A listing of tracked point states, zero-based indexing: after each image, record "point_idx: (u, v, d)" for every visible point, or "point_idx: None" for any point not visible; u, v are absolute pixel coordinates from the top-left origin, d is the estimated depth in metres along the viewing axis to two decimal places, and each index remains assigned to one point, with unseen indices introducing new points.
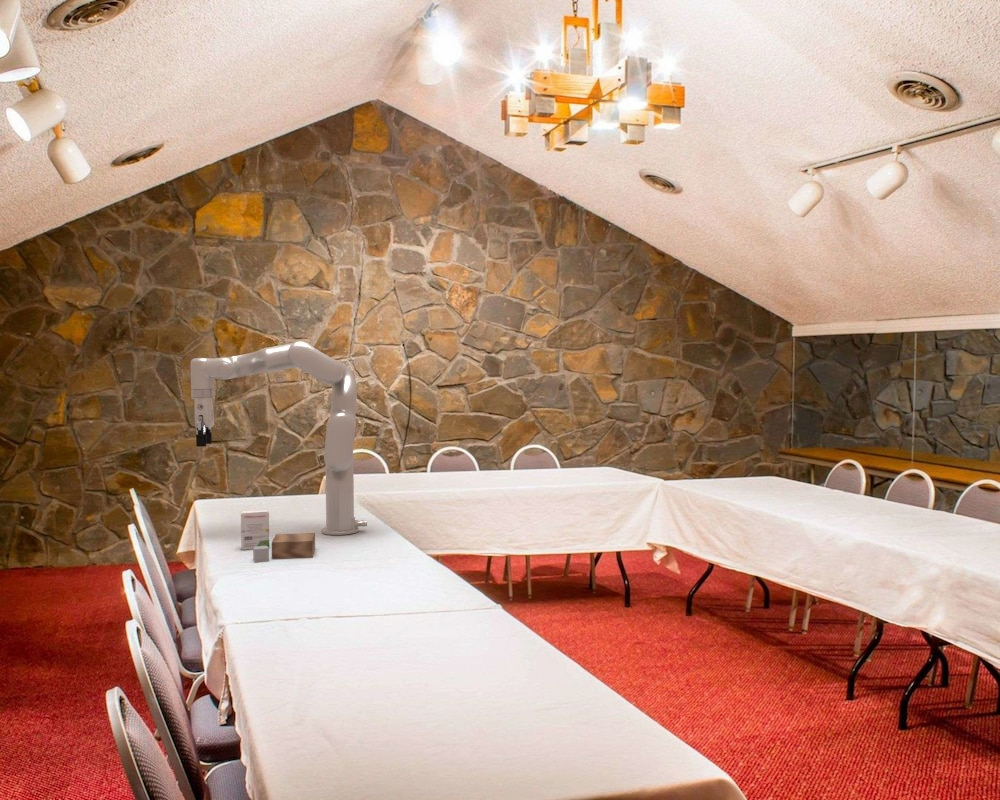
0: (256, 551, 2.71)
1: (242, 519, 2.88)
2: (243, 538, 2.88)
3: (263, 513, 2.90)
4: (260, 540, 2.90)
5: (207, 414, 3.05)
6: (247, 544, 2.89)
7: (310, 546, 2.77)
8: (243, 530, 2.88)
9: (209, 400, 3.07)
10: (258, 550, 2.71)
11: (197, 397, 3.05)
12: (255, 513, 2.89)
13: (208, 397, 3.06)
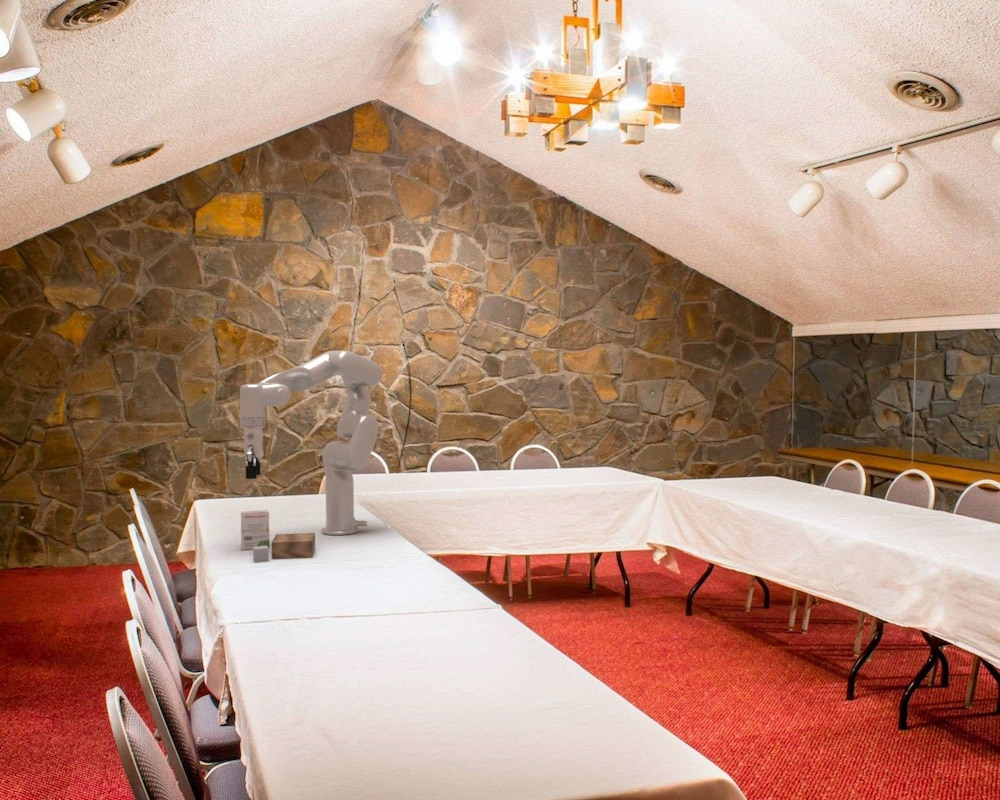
0: (256, 551, 2.71)
1: (242, 519, 2.88)
2: (243, 538, 2.88)
3: (263, 513, 2.90)
4: (260, 540, 2.90)
5: (257, 444, 2.86)
6: (247, 544, 2.89)
7: (310, 546, 2.77)
8: (243, 530, 2.88)
9: (259, 429, 2.88)
10: (258, 550, 2.71)
11: (247, 426, 2.86)
12: (255, 513, 2.89)
13: (258, 426, 2.87)
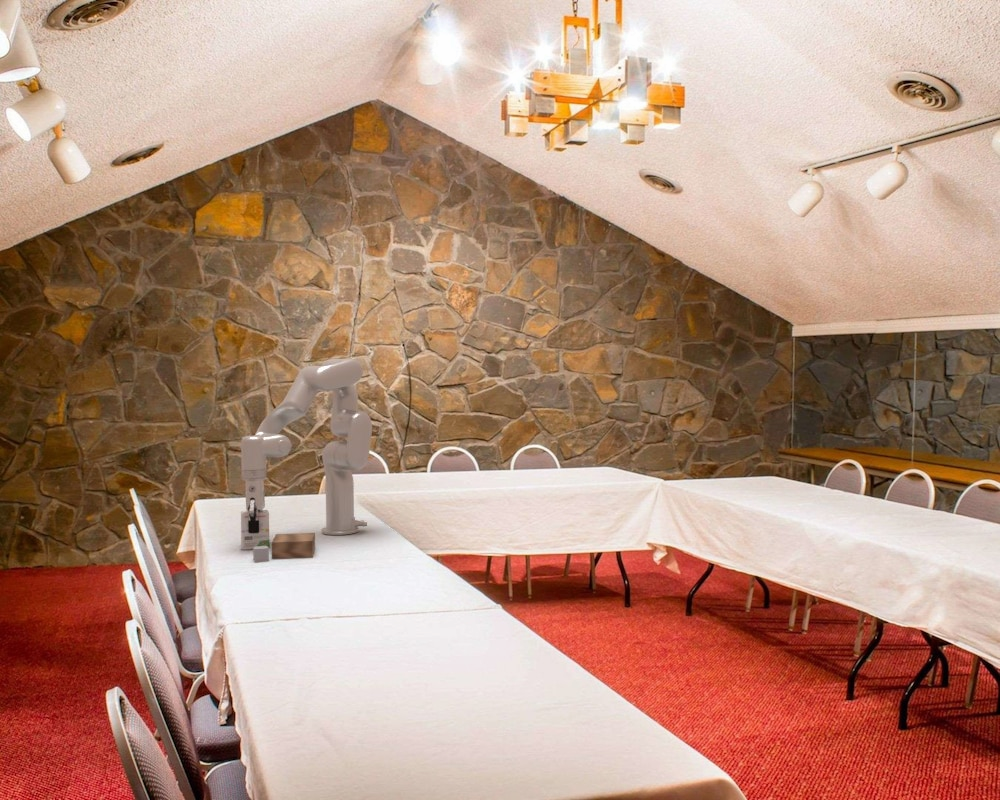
0: (256, 551, 2.71)
1: (242, 519, 2.88)
2: (243, 538, 2.88)
3: (263, 513, 2.90)
4: (260, 540, 2.90)
5: (259, 497, 2.87)
6: (247, 544, 2.89)
7: (310, 546, 2.77)
8: (243, 530, 2.88)
9: (261, 481, 2.89)
10: (258, 550, 2.71)
11: (248, 478, 2.87)
12: (255, 513, 2.89)
13: (260, 478, 2.88)
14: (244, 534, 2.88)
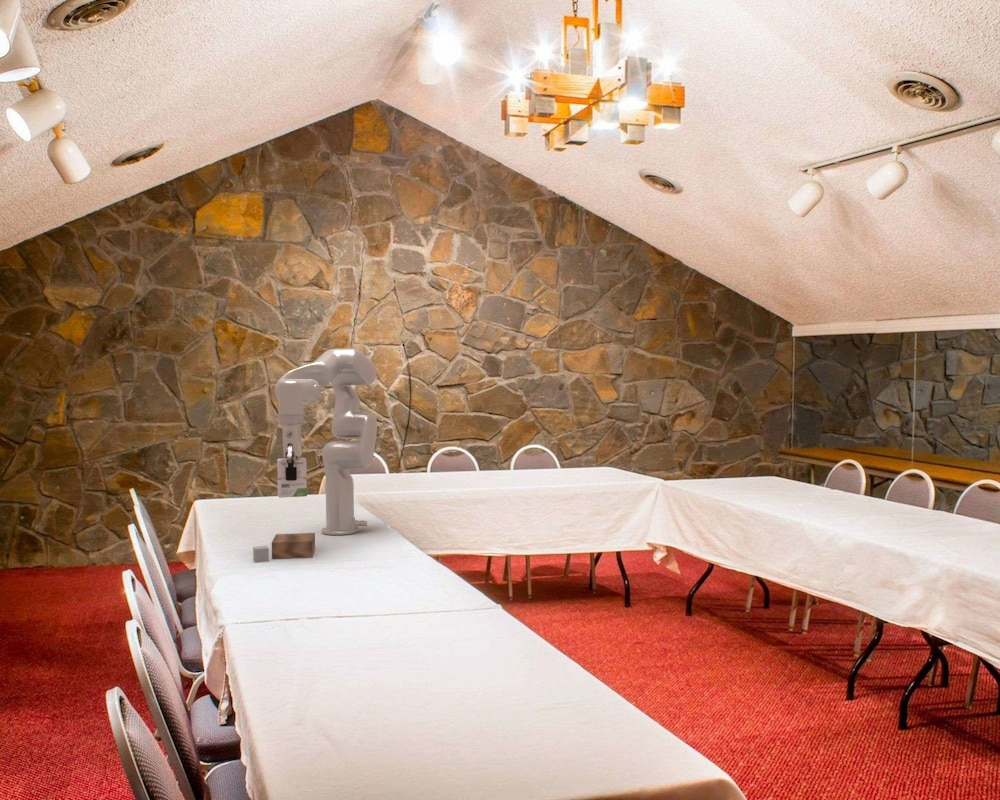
0: (256, 551, 2.71)
1: (278, 466, 2.78)
2: (280, 485, 2.79)
3: (300, 460, 2.80)
4: (297, 488, 2.80)
5: (297, 442, 2.77)
6: (284, 492, 2.79)
7: (310, 546, 2.77)
8: (280, 477, 2.78)
9: (298, 427, 2.79)
10: (258, 550, 2.71)
11: (286, 424, 2.77)
12: None
13: (297, 423, 2.78)
14: (281, 481, 2.79)
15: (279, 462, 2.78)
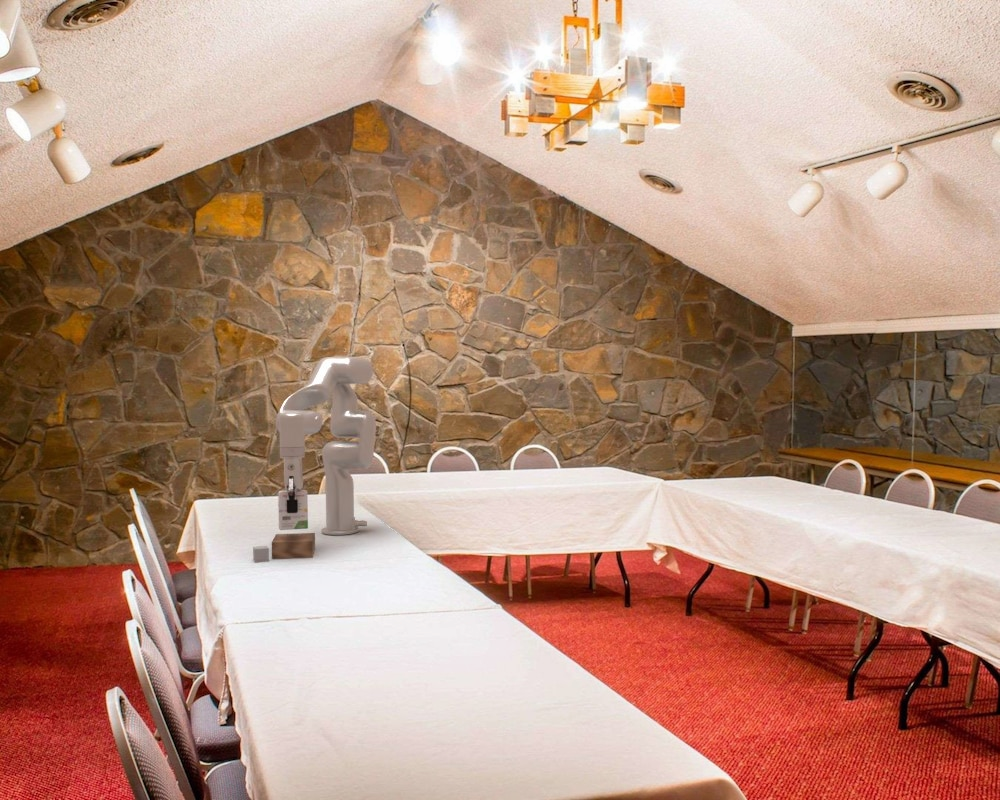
0: (256, 551, 2.71)
1: (280, 499, 2.78)
2: (281, 518, 2.79)
3: (302, 492, 2.80)
4: (298, 520, 2.80)
5: (298, 475, 2.77)
6: (285, 524, 2.79)
7: (310, 546, 2.77)
8: (281, 510, 2.79)
9: (300, 459, 2.79)
10: (258, 550, 2.71)
11: (287, 456, 2.78)
12: None
13: (299, 456, 2.79)
14: (282, 514, 2.79)
15: (280, 494, 2.78)
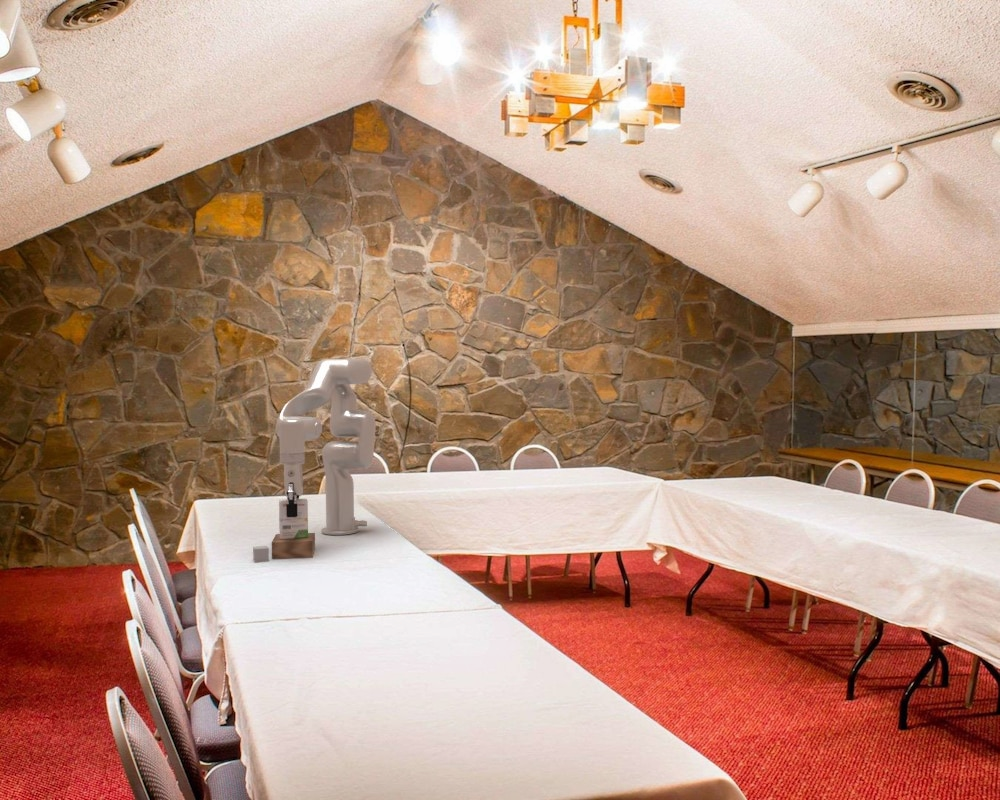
0: (256, 551, 2.71)
1: (280, 508, 2.79)
2: (281, 527, 2.79)
3: (302, 501, 2.81)
4: (299, 529, 2.81)
5: (298, 481, 2.77)
6: (285, 533, 2.80)
7: (310, 546, 2.77)
8: (281, 519, 2.79)
9: (300, 465, 2.79)
10: (258, 550, 2.71)
11: (287, 462, 2.78)
12: None
13: (299, 462, 2.79)
14: (282, 523, 2.79)
15: (280, 504, 2.79)
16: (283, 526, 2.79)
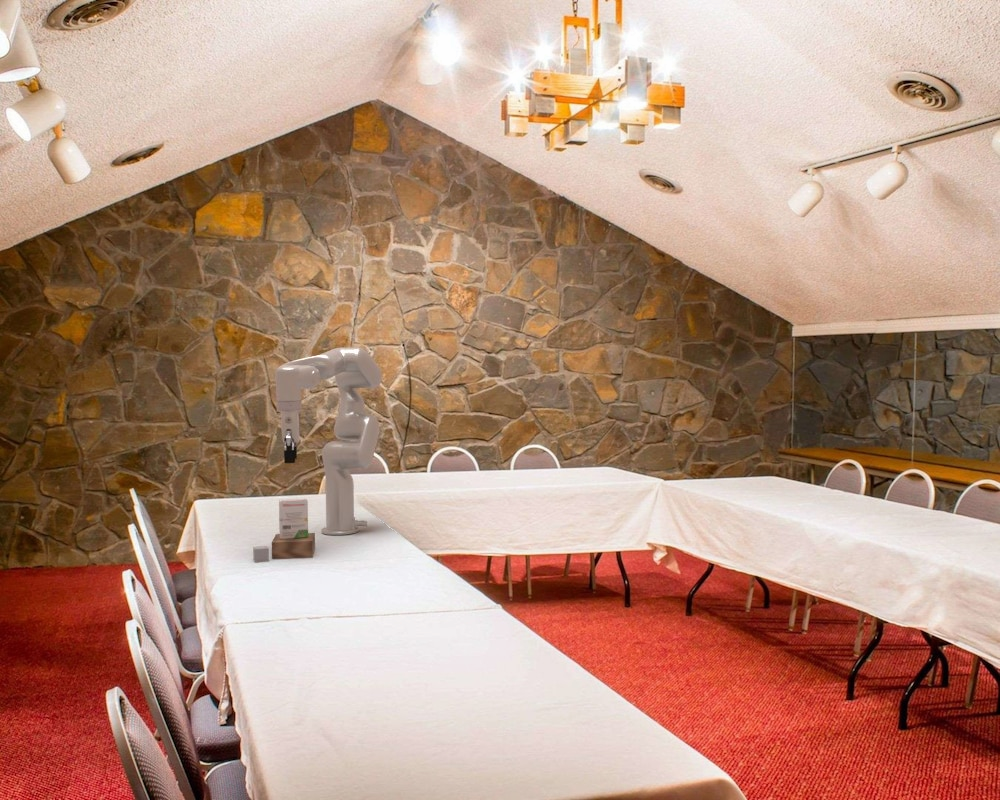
0: (256, 551, 2.71)
1: (280, 508, 2.79)
2: (281, 527, 2.79)
3: (302, 501, 2.81)
4: (299, 529, 2.81)
5: (295, 428, 2.81)
6: (285, 533, 2.80)
7: (310, 546, 2.77)
8: (281, 519, 2.79)
9: (297, 413, 2.83)
10: (258, 550, 2.71)
11: (284, 410, 2.81)
12: (293, 501, 2.80)
13: (296, 409, 2.83)
14: (282, 523, 2.79)
15: (280, 504, 2.79)
16: (283, 526, 2.79)
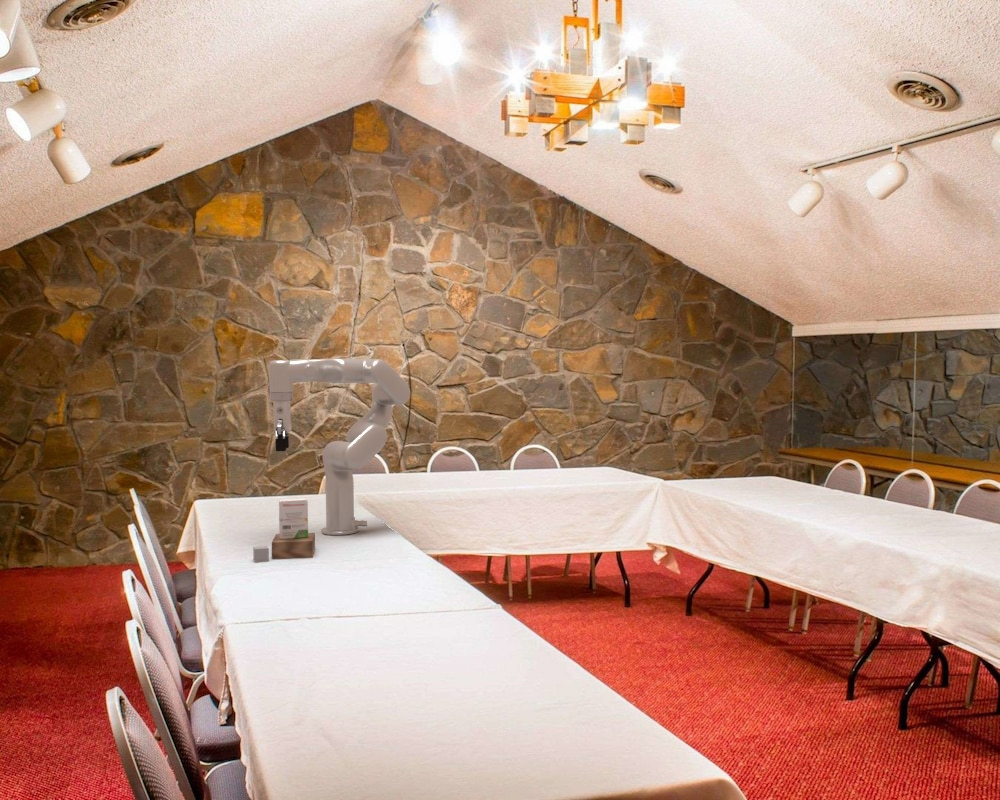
0: (256, 551, 2.71)
1: (280, 508, 2.79)
2: (281, 527, 2.79)
3: (302, 501, 2.81)
4: (299, 529, 2.81)
5: (287, 418, 2.96)
6: (285, 533, 2.80)
7: (310, 546, 2.77)
8: (281, 519, 2.79)
9: (288, 403, 2.98)
10: (258, 550, 2.71)
11: (276, 400, 2.97)
12: (293, 501, 2.80)
13: (287, 400, 2.98)
14: (282, 523, 2.79)
15: (280, 504, 2.79)
16: (283, 526, 2.79)
